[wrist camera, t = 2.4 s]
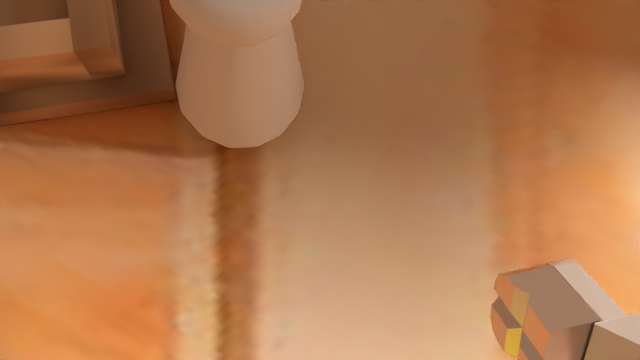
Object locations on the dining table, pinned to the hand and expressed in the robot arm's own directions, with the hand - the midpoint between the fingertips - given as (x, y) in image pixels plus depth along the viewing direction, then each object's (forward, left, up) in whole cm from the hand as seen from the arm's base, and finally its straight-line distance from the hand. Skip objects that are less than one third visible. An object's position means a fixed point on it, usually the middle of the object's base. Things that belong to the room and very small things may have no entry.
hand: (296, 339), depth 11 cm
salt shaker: (-4, -10, -16) cm, 19 cm away
